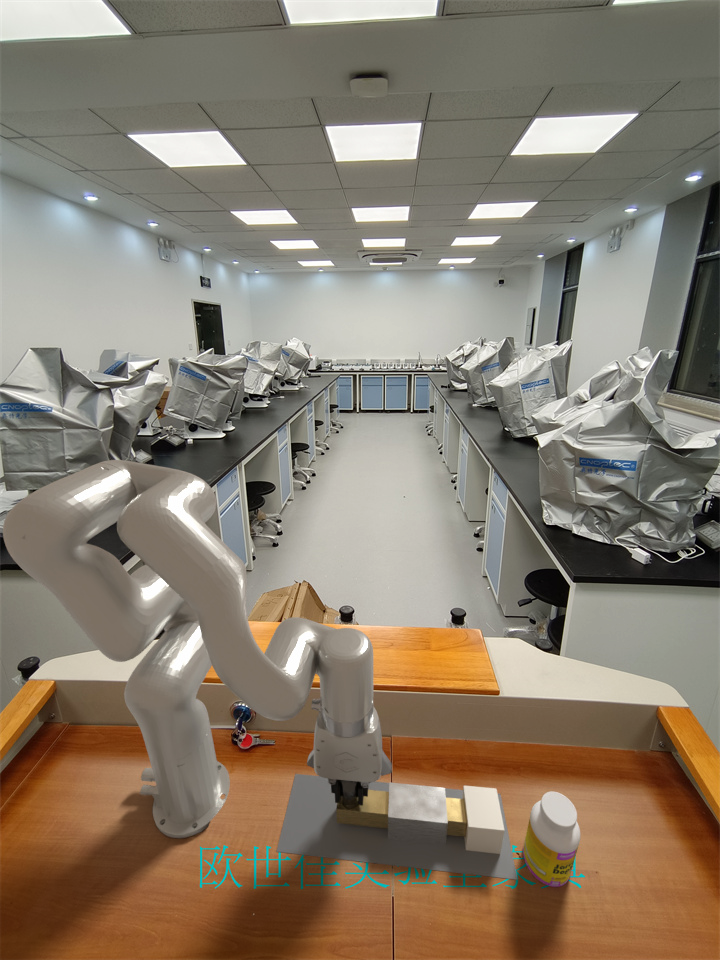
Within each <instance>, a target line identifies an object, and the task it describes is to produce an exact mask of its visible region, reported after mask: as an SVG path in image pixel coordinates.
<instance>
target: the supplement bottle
mask: <svg viewBox="0 0 720 960" xmlns="http://www.w3.org/2000/svg"><path fill="white" fill-rule="evenodd" d="M530 810H531V811H530V814H529V820H528V825H527V828H526V833H525V838H524V843H523V848H522V852H523V853H522V854H523V859H524V861H525V864H526V867H527V868H528V869H529V871H530V873H531V874H532V876H534V877H535V879H537V880H538V881H540V882H541V883H542V884H544V885H547V886H549V887H553V888H558V887H562V886H564V885H566V884H567V883H568V881H569V880H570V877H571V874H572V871H573V866H574V863H575V859H576V856H577V853H578V849H579V846H580V843H581V842H580V841H581V828H580V826H579V823H578V821H577V820H578V812H577V809H576V806H575V805H574V803H573V802H572V801H571V800H570V799H569V798H568V797H567V796H565V795H564V794H562V793H560V792H557V791H548V792H545V793H544V794H543V796H542V797H541V800H539V801H537V802H536V803H534V805H533V806H532V808H531V809H530Z"/></svg>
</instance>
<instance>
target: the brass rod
mask: <svg viewBox="0 0 720 960" xmlns="http://www.w3.org/2000/svg"><path fill="white" fill-rule="evenodd" d="M358 784H359V782H358V781H347V780H340V788H341V798H340V802H339V803H337V808H336V812H337V823H342V824H351V825H360V826H369V827H379V828H388V808H389V792H386V791H376V790H368V797H366V796H364V798H363V806H362V805H359V804H358ZM446 807H447V819H448V827H447V835H453V836H462V837H466V831H467V817H466V808H465V800H464V799H456V798H446Z"/></svg>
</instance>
